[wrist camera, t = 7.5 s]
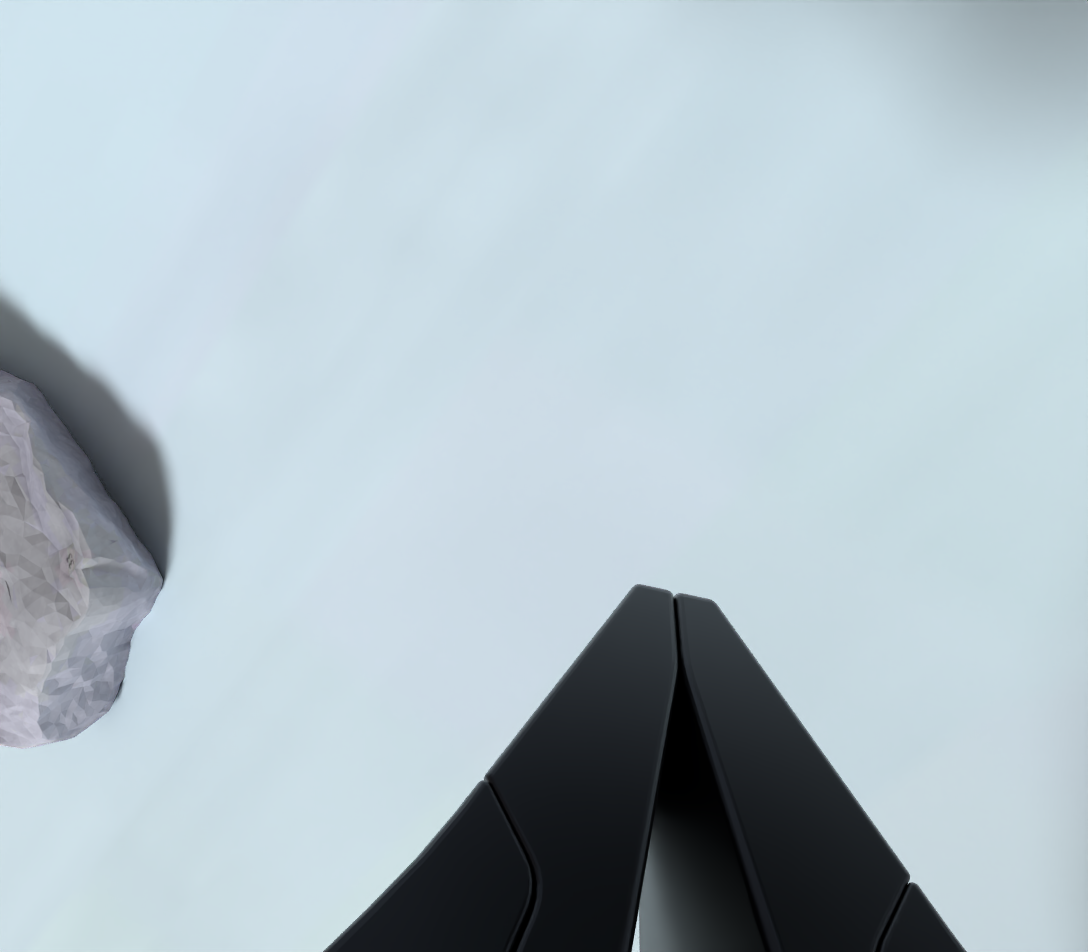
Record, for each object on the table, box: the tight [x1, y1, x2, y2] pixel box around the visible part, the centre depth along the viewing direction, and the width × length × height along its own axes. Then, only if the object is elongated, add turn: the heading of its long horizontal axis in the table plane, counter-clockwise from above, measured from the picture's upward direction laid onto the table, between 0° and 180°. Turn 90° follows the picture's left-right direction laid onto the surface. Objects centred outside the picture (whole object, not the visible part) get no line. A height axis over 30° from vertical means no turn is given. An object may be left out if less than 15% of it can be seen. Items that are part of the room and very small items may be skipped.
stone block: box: [0, 370, 163, 749], centre depth 25 cm, size 12×5×10 cm
